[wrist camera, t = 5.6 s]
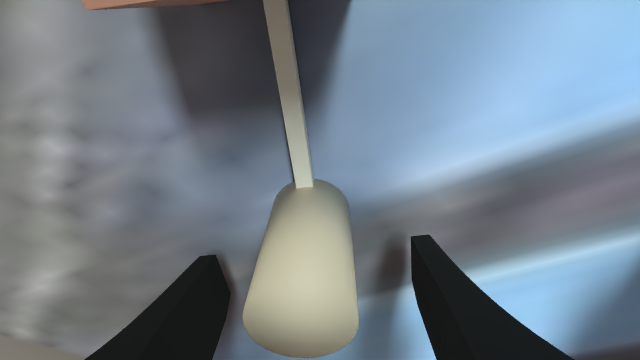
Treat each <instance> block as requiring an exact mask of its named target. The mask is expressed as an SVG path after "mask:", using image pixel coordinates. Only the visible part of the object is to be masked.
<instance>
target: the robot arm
mask: <svg viewBox="0 0 640 360" xmlns="http://www.w3.org/2000/svg"><path fill="white" fill-rule="evenodd" d="M411 271H412V282H413V287H414V291H415V296H416V300H417V304H418V308H419V311H420V314H421V316H422V319H423V322H424V325H425V328H426V331H427V334H428V337H429V339H430V342H431V345H432V348H433V351H434V354H435V356H436V359H437V360H574V359H572V358H571V357H569V356H568V355H566V354H565V353H563V352H562V351H560V350H559V349H557V348H556V347H554V346H553V345H551V344H550V343H548V342H547V341H545V340H544V339H542V338H541V337H540V336H538V335H537V334H535V333H534V332H532V331H531V330H530V329H528V328H527V327H526V326H524V325H523V324H522V323H520V322H519V321H518V320H516V319H515V318H514V317H513V316H511V315H510V314H509V313H508V312H506V311H505V310H504V309H503V308H501V307H500V306H499V305H498V304H497V303H496V302H494V301H493V300H492V299H491V298H490V297H489V296H488V295H486V294H485V293H484V292H483V291H482V290H481V289H480V288H479V287H478V286H477V285H476V284H475V283H474V282H472V281H471V280H470V279H469V278H468V277H467V276H466V275H465V274H464V273H463V272H462V271H461V270H460V269H459V268H458V266H457V265H456V264H455V263H454V262H453V261H452V260H451V259H450V258H449V257H448V256H447V255H446V253H445V252H444V251H443V250H442V249H441V248H440V247H439V245H438V244H437V243H436V242H435V241H434V239H433V238H432V237H431V236H430V235H420V236H411ZM230 294H231V293H230V290H229V288H228V285H227V283H226V280H225V278H224V275H223V273H222V270H221V268H220V265H219V262H218V260H217V257H216V255H208V256H200V257H199V258H198V259H196V260H195V261H194V262H193V263H192V264H191V265H190V266H189V267H188V268H187V269H186V270H185V271H184V272H183V273H182V274H181V275H180V276H179V277H178V278H177V279H176V280H175V281H174V282H173V283H172V284H171V285H170V286H169V287H168V288H167V289H166V290H165V291H164V292H163V293H162V294H161V295H160V296H159V297H158V298H157V299H156V300H155V301H154V302H153V303H152V304H151V305H150V306H149V307H147V308H146V309H145V310H144V311H143V312H142V313H141V314H140V315H139V316H138V317H137V318H136V319H134V320H133V321H132V322H131V323H130V324H129V325H128V326H127V327H125V328H124V329H123V330H122V331H121V332H119V333H118V334H117V335H116V336H115V337H113V338H112V339H111V340H110V341H108V342H107V343H106V344H105V345H103V346H102V347H101V348H100V349H98V350H97V351H96V352H94V353H93V354H92V355H90V356H89V357H87V358H86V359H85V360H212V358H213V355H214V353H215V350H216V347H217V344H218V341H219V338H220V335H221V332H222V329H223V326H224V323H225V319H226V315H227V310H228V305H229V300H230Z"/></svg>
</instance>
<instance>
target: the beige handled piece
mask: <svg viewBox="0 0 640 360" xmlns="http://www.w3.org/2000/svg"><path fill="white" fill-rule="evenodd" d="M82 1H83V4H84V6H85V9H86V10H101V9H121V8H140V7H160V6H180V5H200V4H207V3H214V2H221V1H228V0H82ZM263 4H264V10H265V16H266V21H267V27H268V32H269V38H270V44H271V49H272V55H273V60H274V66H275V72H276V77H277V83H278V88H279V94H280V99H281V105H282V111H283V116H284V122H285V127H286V133H287V139H288V144H289V150H290V155H291V161H292V167H293V172H294V178H295V181H294V182H292V183H290V184H288V185H287V186H285V187H284V188H283V189H282V190H281V191H280V192H279V193H278V195H277V196H276V198H275V201H274V204H273V207H272V211H271V215H270V218H269V222H268V225H267V229H266V232H265V236H264V239H263V243H262V246H261V250H260V253H259V257H258V260H257V264H256V268H255V271H254V275H253V278H252V282H251V285H250V289H249V292H248V296H247V299H246V303H245V306H244V310H243V323H244V326H245V328H246V331H247V332H248V334H249V335H250V336H251V337H252V339H253V340H255V341H256V342H257V343H258V344H259V345H261V346H262V347H264V348H266V349H268V350H270V351H272V352H274V353H277V354H280V355H284V356H289V357H296V358H313V357H320V356H325V355H328V354H331V353H334V352H336V351H338V350H340V349H342V348H343V347H345V346H346V345H347V344H348V343H349V342H350V341H351V340H352V339H353V338H354V336H355V335H356V332H357V330H358V325H359V318H358V306H357V294H356V282H355V270H354V258H353V246H352V234H351V222H350V210H349V204H348V201H347V199H346V197H345V196H344V194H343V193H342V192H341V191H340V190H339V189H338V188H337V187H335V186H334V185H332V184H330V183H328V182H326V181H323V180H318V179H314V176H313V169H312V162H311V155H310V148H309V142H308V135H307V128H306V121H305V114H304V108H303V101H302V94H301V87H300V80H299V73H298V67H297V60H296V53H295V46H294V39H293V32H292V26H291V19H290V12H289V5H288V0H263Z"/></svg>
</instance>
